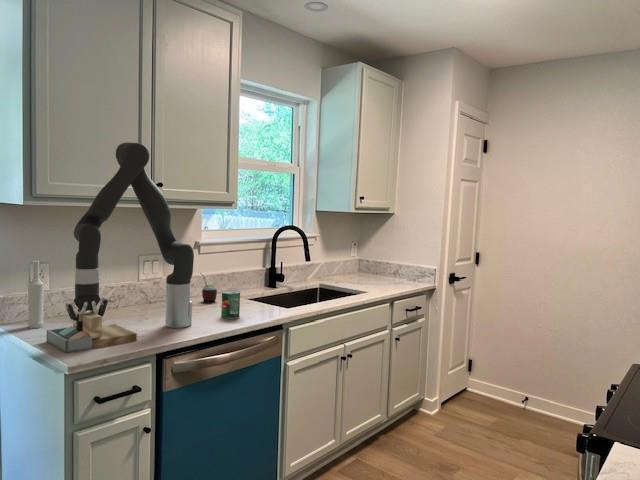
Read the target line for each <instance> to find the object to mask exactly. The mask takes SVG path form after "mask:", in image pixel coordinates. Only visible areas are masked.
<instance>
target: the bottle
mask: <svg viewBox="0 0 640 480" xmlns="http://www.w3.org/2000/svg"><path fill="white" fill-rule="evenodd" d="M44 285H45V283H44V282H43V281H41V279H40V260H33V261H32V279H31V281H30V282H29V283H28V284H27V291H28V292H27V295H28V298H27V299H28V300H27V302H28V322H27V326H28V328H29V329H41V328H43V327H44V324H45V322H44V295H45V294H44V293H45V292H44V288H45V286H44Z"/></svg>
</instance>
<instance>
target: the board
mask: <svg viewBox="0 0 640 480" xmlns="http://www.w3.org/2000/svg"><path fill="white" fill-rule="evenodd" d="M137 335H138V333H137V332H134V331H132V330H130V329H127V328H126V327H122V326H120V325H118V324H116V323H112V324H107V325H102V337H98V338H93V339H92V349H97V348H102V347H107V346H113V345H119V344H124V343H129V342H136V341H137V339H138V337H137Z"/></svg>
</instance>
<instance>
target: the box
mask: <svg viewBox="0 0 640 480" xmlns="http://www.w3.org/2000/svg"><path fill="white" fill-rule="evenodd" d="M68 327H69V326H67V327H59V328H53V329H46V342H47V343H48V344H50V345H52V346H53V347H55V348H57V349H58V350H60V351H61V352H63V353H65V354H70V353H75V352H79V351H80V352H81V351H86V350H91V349H93V348H92V336H89V337H83V338H77V339H71V340H67V339H65V338H63V337H61V336H60V335H59V333H60V332H61V331H63V330H65V329H66V328H68Z"/></svg>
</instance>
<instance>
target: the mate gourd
mask: <svg viewBox="0 0 640 480" xmlns="http://www.w3.org/2000/svg"><path fill="white" fill-rule="evenodd" d="M199 274H200V275H201V276H202V278H203V280H204V286H203V287H202V290H201V293H202V298H203V300H202V302H203V303H206V304H210V303H214V304H215V303H216V302H217V301H216V299H217V294H218V290H217V287H216V286H215V285H212V284H207V281H206V277H205V275H204V274H202V272H200V273H199Z"/></svg>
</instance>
